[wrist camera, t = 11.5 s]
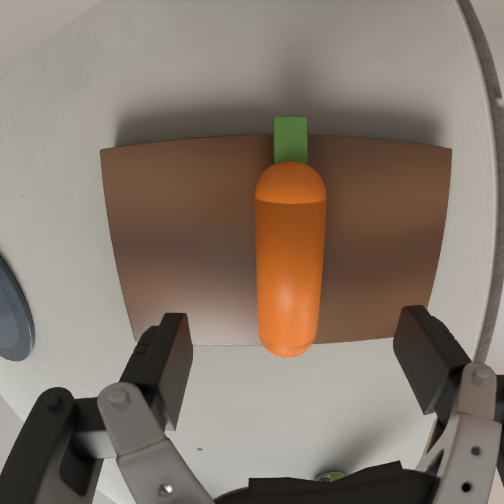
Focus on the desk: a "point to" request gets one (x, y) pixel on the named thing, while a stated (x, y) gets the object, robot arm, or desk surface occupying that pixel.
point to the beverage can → (330, 476)
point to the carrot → (289, 242)
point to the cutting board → (244, 233)
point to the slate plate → (14, 319)
